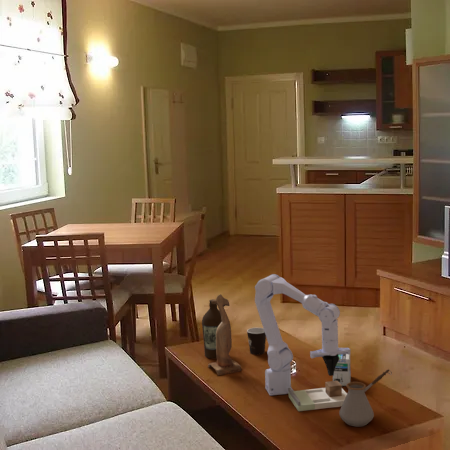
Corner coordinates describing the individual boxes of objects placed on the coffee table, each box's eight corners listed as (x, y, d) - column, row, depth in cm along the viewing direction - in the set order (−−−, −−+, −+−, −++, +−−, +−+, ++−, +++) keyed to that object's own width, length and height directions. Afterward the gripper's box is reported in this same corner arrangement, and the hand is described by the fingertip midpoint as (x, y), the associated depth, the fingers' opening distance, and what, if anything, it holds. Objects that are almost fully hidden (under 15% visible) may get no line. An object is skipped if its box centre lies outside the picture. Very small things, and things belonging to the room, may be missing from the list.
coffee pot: (355, 432, 219) (354, 388, 217) (332, 419, 229) (331, 377, 227) (402, 415, 230) (402, 373, 228) (378, 404, 240) (378, 364, 238)
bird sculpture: (243, 371, 278) (242, 295, 274) (217, 376, 273) (216, 299, 269) (231, 363, 288) (229, 290, 284) (206, 368, 283) (204, 293, 279)
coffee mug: (267, 355, 295) (266, 333, 294) (247, 355, 295) (247, 333, 294) (266, 346, 307) (265, 325, 305) (247, 347, 307) (246, 325, 305)
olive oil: (207, 350, 304) (205, 296, 301) (230, 351, 301) (227, 297, 298) (200, 358, 294) (197, 303, 290) (223, 360, 291) (221, 303, 288)
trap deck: (298, 411, 237) (298, 401, 236) (288, 396, 250) (288, 387, 249) (352, 405, 240) (352, 395, 240) (340, 391, 253) (340, 382, 252)
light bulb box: (350, 386, 257) (349, 359, 255) (332, 385, 258) (331, 358, 257) (350, 376, 267) (350, 350, 266) (333, 375, 269) (333, 349, 267)
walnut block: (329, 397, 243) (329, 386, 242) (325, 392, 247) (325, 381, 247) (341, 395, 244) (341, 385, 243) (337, 391, 248) (337, 380, 248)
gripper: (313, 344, 237) (314, 380, 239) (353, 340, 239) (353, 376, 241) (308, 337, 244) (309, 373, 246) (346, 334, 246) (347, 369, 248)
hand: (330, 374), depth 244 cm, fingers closed
